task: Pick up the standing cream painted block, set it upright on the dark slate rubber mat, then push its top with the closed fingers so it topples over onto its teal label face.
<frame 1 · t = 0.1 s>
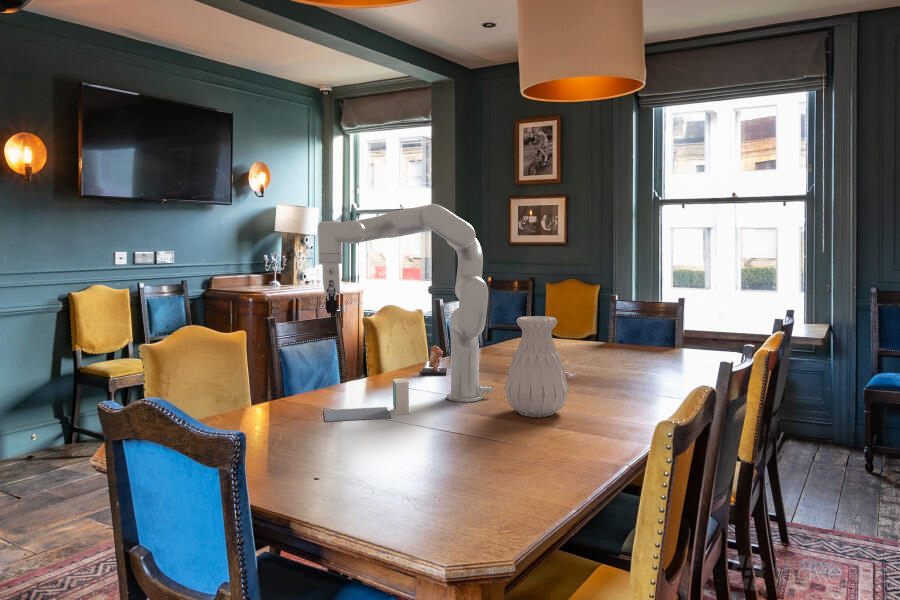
hand: (331, 311, 227), 31 cm above the table, fingers open, 9 cm apart
figurine: (434, 374, 285), on the table
slate mat: (356, 414, 216), on the table
vase: (536, 413, 218), on the table
cream block: (401, 411, 220), on the table
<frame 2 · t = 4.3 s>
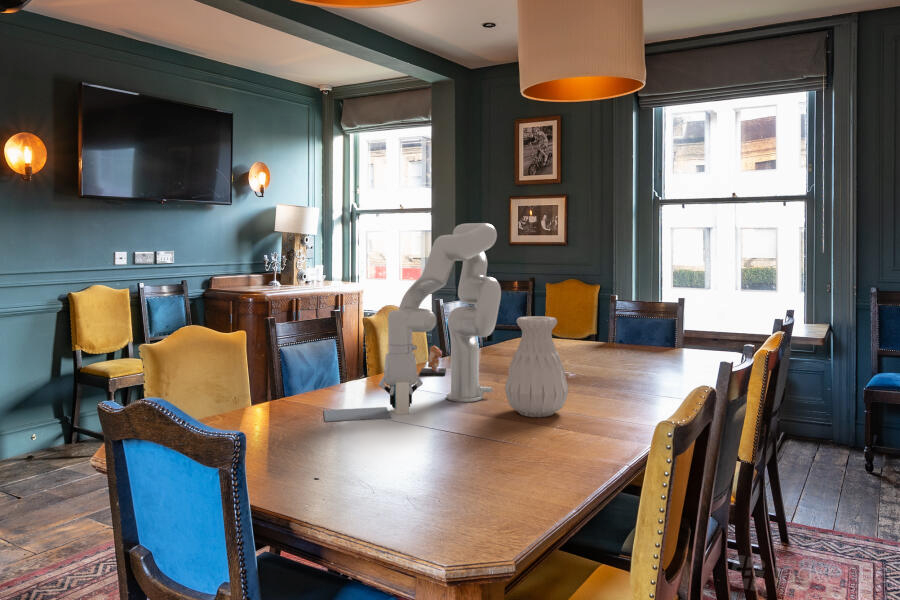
hand: (400, 405, 220), 2 cm above the table, fingers closed on cream block, 4 cm apart
cream block: (401, 411, 220), on the table, touching gripper
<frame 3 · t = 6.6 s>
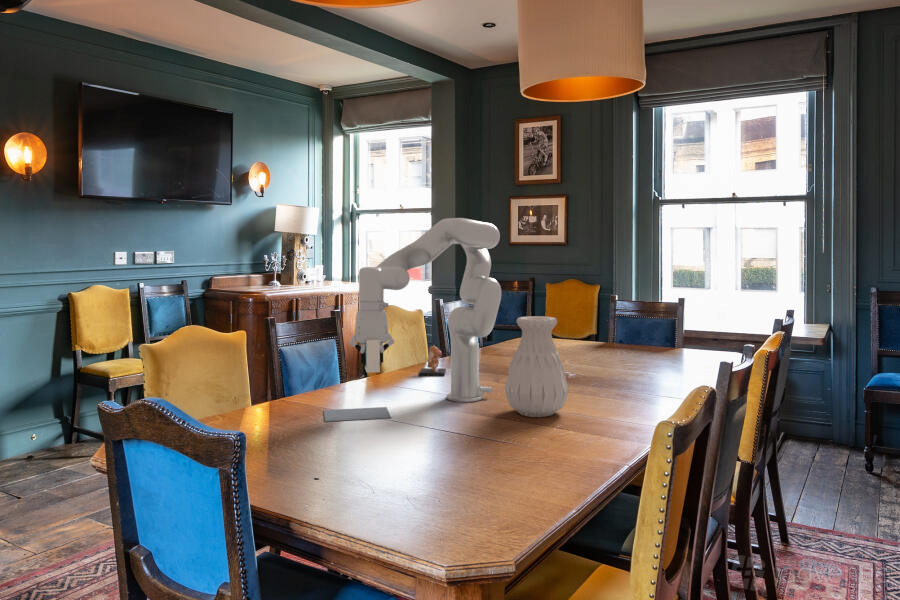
hand: (372, 364, 216), 16 cm above the table, fingers closed on cream block, 4 cm apart
cream block: (372, 370, 216), point 14 cm above the table, touching gripper
when the fingers open (3 cm above the table, at t = 9.0 s): cream block stays where it is, resting on slate mat.
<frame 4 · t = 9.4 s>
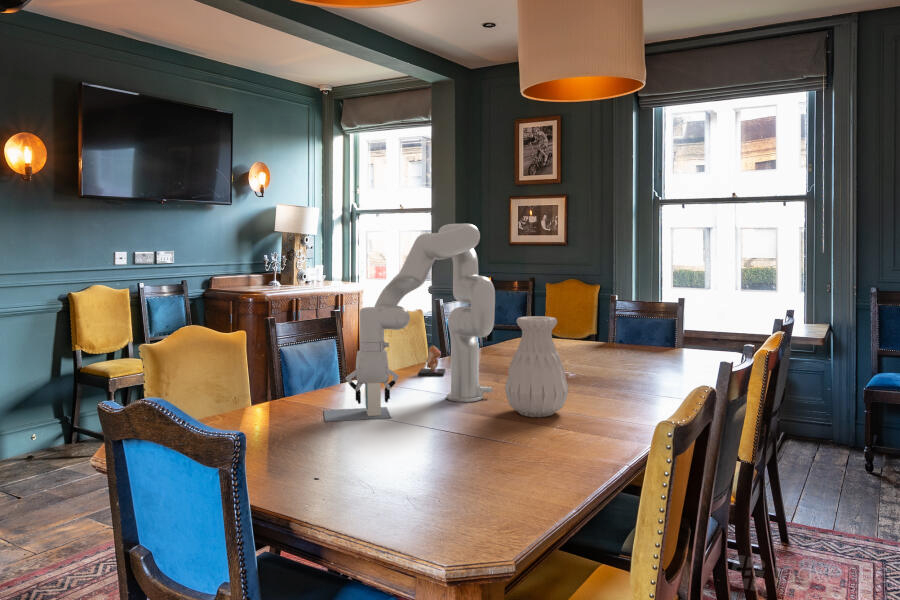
hand: (372, 401, 217), 4 cm above the table, fingers open, 8 cm apart
cream block: (373, 412, 217), resting on slate mat
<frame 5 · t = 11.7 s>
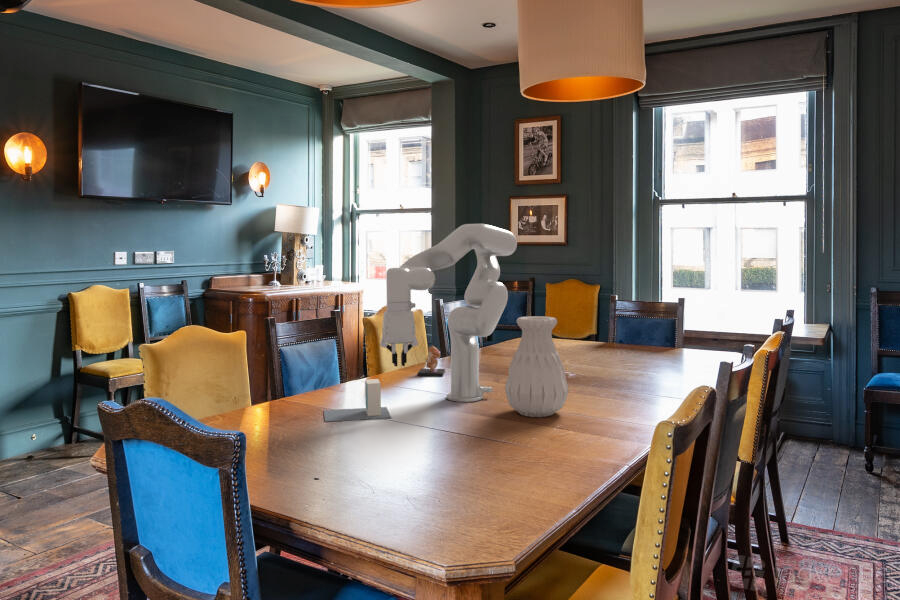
hand: (399, 365, 218), 15 cm above the table, fingers closed
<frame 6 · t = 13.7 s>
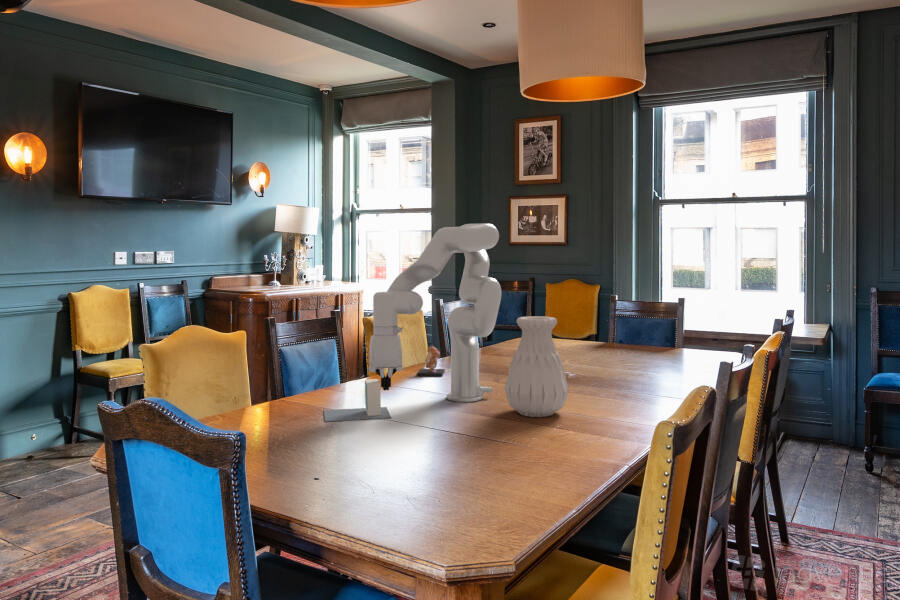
hand: (385, 389, 217), 8 cm above the table, fingers closed
cream block: (373, 412, 217), resting on slate mat, touching gripper
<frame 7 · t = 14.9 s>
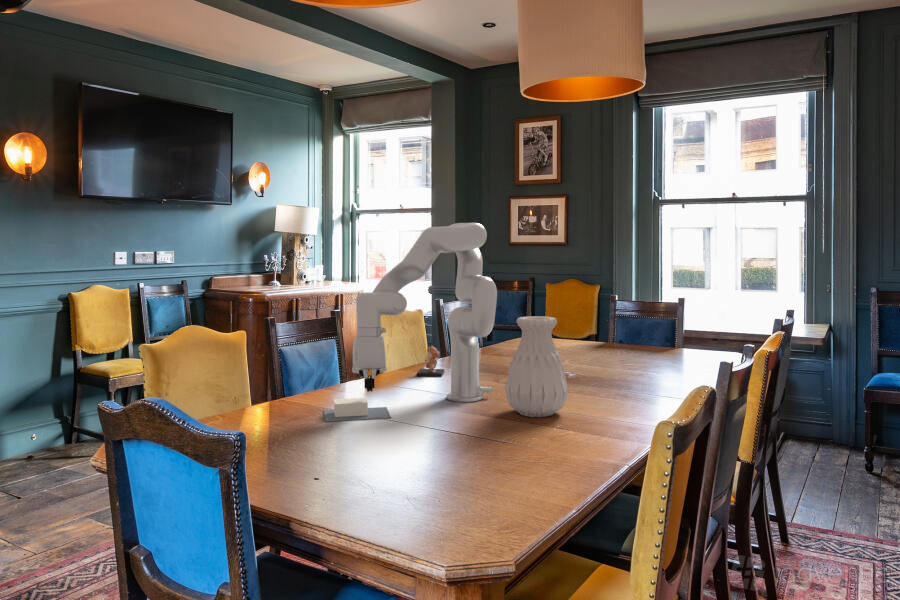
hand: (369, 390, 217), 7 cm above the table, fingers closed
cream block: (366, 406, 217), point 2 cm above the table, tilted 90°, touching slate mat
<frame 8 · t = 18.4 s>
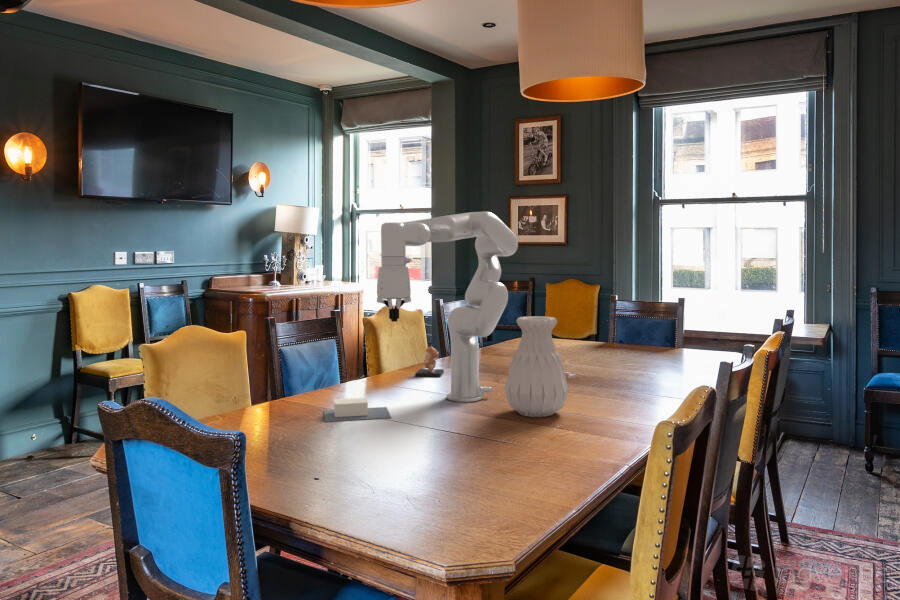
hand: (394, 321, 216), 29 cm above the table, fingers closed
at the end: cream block tilted 90°; cream block inside the target area (3.1 cm from its centre), point 2.4 cm above the table; the gripper is holding nothing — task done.
